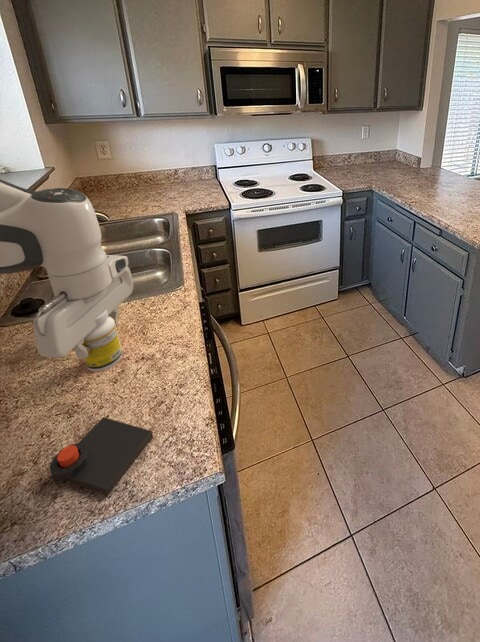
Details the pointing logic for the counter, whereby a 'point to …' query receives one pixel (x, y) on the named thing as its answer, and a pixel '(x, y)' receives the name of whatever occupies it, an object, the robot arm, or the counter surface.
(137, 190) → the counter surface
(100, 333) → the pill bottle
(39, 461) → the counter surface
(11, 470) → the counter surface
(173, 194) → the counter surface
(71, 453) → the button
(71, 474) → the black kitchen scale
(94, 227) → the robot arm
